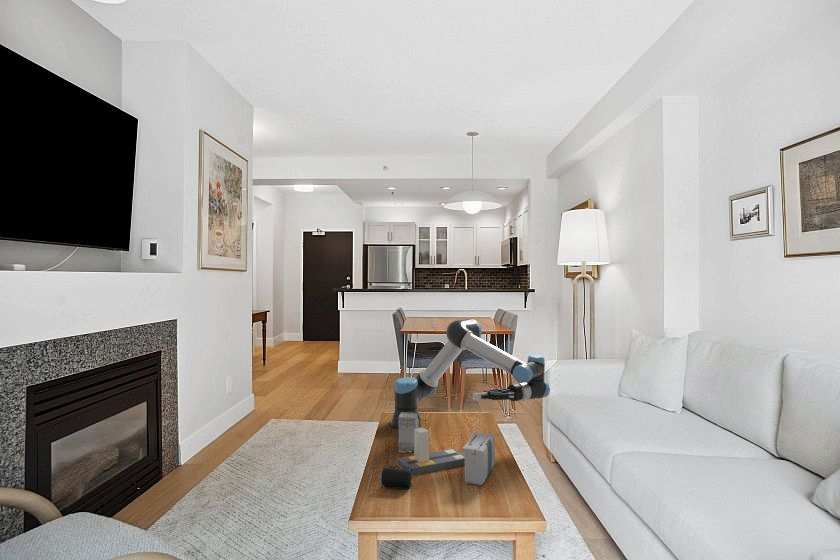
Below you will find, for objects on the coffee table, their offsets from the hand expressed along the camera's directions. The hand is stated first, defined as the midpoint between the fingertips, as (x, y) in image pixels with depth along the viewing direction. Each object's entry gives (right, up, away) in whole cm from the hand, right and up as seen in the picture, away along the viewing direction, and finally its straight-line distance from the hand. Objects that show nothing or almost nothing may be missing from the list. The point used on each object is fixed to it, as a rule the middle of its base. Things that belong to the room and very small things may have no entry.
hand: (473, 397), depth 207 cm
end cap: (-31, -24, -34) cm, 52 cm away
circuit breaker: (-28, -24, +7) cm, 38 cm away
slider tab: (-22, -21, -16) cm, 34 cm away
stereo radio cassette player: (0, -24, -24) cm, 34 cm away
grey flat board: (-18, -24, -13) cm, 33 cm away
